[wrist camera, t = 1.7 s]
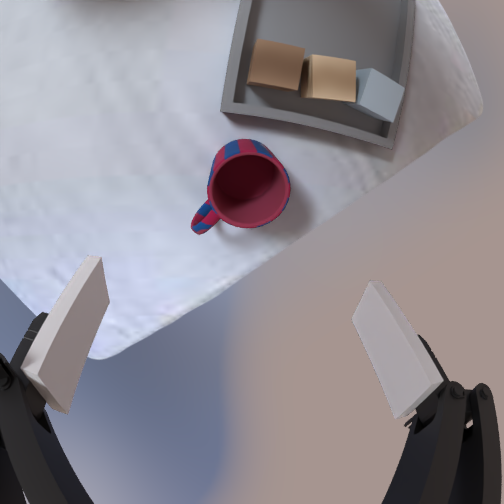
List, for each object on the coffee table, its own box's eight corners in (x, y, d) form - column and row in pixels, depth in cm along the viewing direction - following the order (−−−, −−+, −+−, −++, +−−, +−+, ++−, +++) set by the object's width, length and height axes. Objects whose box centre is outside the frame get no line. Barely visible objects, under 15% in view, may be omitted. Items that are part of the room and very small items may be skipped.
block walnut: (253, 47, 20) (257, 38, 16) (294, 55, 20) (305, 48, 17) (246, 84, 22) (249, 81, 18) (287, 91, 22) (297, 90, 19)
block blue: (353, 70, 21) (371, 67, 18) (384, 87, 22) (404, 88, 19) (342, 102, 23) (359, 104, 20) (373, 118, 24) (393, 122, 21)
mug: (288, 178, 28) (305, 201, 22) (211, 227, 30) (208, 261, 24) (253, 126, 25) (261, 133, 19) (174, 182, 27) (159, 205, 21)
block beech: (300, 60, 21) (312, 54, 17) (338, 65, 21) (355, 61, 18) (300, 97, 23) (312, 97, 19) (338, 101, 23) (355, 102, 20)
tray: (256, -58, 13) (258, -67, 11) (405, -8, 15) (415, -12, 13) (220, 110, 24) (220, 111, 22) (382, 145, 26) (392, 149, 24)
